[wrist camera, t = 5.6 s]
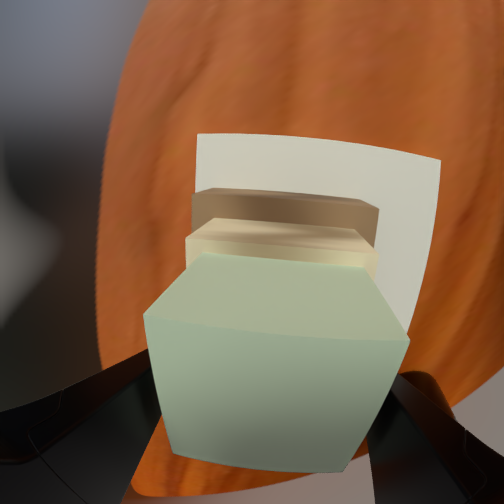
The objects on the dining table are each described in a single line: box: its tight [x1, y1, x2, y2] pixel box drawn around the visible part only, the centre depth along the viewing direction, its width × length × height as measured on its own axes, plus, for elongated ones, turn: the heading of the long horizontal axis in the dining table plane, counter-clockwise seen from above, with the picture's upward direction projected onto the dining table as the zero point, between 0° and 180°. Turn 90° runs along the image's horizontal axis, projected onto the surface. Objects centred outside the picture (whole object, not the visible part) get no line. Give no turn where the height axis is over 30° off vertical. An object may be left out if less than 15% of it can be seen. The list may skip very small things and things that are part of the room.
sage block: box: [143, 252, 410, 473], centre depth 7 cm, size 5×5×4 cm
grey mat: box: [195, 134, 441, 334], centre depth 15 cm, size 14×12×1 cm
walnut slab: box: [192, 188, 379, 248], centre depth 14 cm, size 8×8×4 cm
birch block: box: [186, 218, 379, 282], centre depth 11 cm, size 6×6×4 cm
